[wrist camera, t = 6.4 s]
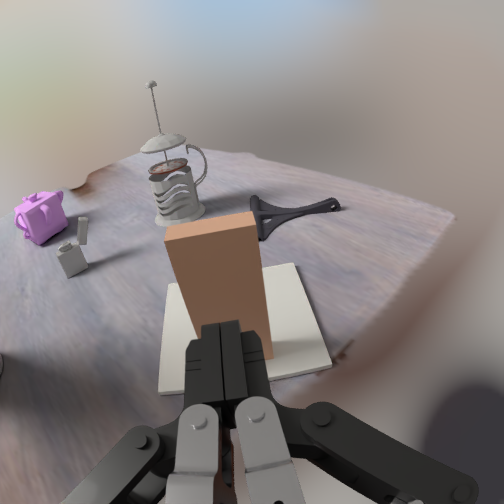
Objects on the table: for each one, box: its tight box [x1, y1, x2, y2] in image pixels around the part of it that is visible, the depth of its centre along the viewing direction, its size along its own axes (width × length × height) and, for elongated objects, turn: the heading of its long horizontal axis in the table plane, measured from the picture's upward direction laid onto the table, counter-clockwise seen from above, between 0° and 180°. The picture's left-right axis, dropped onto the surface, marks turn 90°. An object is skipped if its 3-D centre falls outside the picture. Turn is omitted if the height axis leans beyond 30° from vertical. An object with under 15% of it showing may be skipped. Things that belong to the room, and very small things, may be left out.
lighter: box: [56, 217, 89, 278], centre depth 44 cm, size 7×2×8 cm, turn 130°
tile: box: [164, 211, 274, 360], centre depth 25 cm, size 6×2×14 cm, turn 97°
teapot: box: [14, 191, 69, 245], centre depth 58 cm, size 18×14×10 cm
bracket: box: [250, 195, 341, 241], centre depth 51 cm, size 14×15×3 cm
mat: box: [158, 263, 332, 395], centre depth 33 cm, size 16×16×1 cm
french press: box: [140, 81, 207, 227], centre depth 50 cm, size 10×12×25 cm
